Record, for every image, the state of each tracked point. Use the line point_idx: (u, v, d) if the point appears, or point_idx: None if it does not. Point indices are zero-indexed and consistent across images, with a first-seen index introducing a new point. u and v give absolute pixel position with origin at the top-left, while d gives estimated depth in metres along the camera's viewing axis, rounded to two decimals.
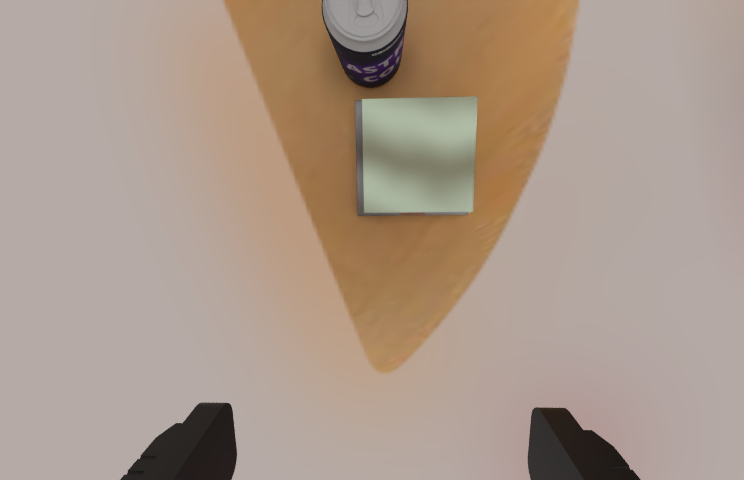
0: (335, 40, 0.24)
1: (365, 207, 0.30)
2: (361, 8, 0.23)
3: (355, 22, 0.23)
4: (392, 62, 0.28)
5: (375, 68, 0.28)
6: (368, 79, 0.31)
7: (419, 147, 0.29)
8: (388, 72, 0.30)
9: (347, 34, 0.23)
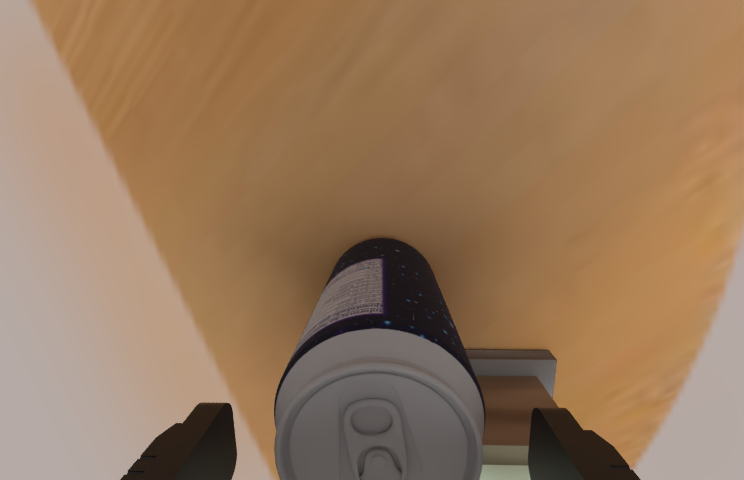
0: None
1: None
2: (370, 467, 0.09)
3: None
4: None
5: None
6: None
7: None
8: None
9: None
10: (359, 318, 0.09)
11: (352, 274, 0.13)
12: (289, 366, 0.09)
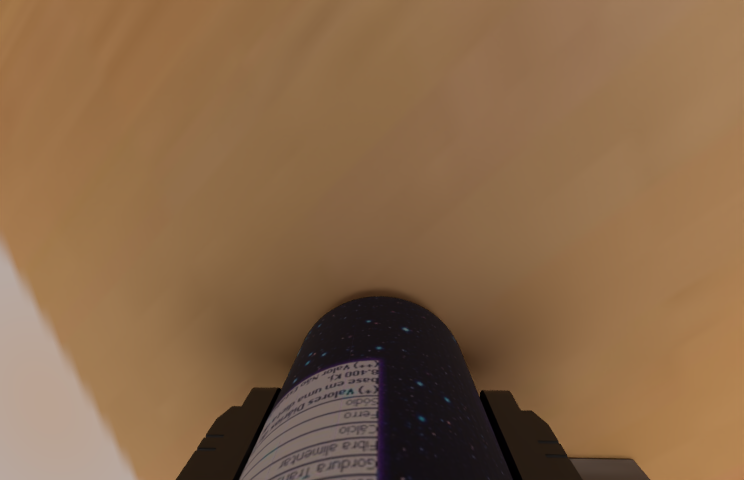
0: None
1: None
2: None
3: None
4: None
5: None
6: None
7: None
8: None
9: None
10: None
11: (316, 411, 0.06)
12: None
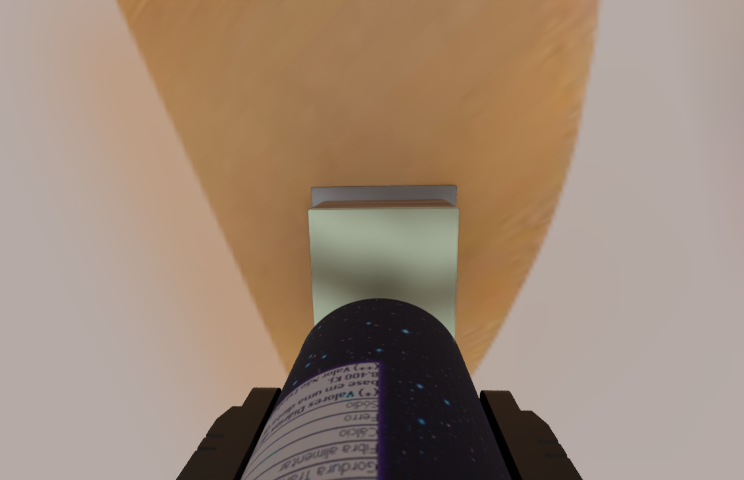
0: None
1: None
2: None
3: None
4: None
5: None
6: None
7: (384, 270, 0.22)
8: None
9: None
10: None
11: (316, 414, 0.06)
12: None
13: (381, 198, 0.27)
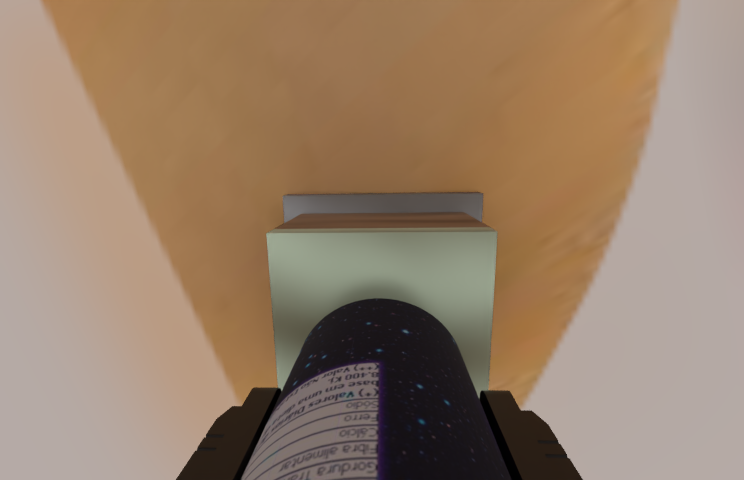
0: None
1: None
2: None
3: None
4: None
5: None
6: None
7: None
8: None
9: None
10: None
11: (316, 414, 0.06)
12: None
13: (379, 210, 0.20)
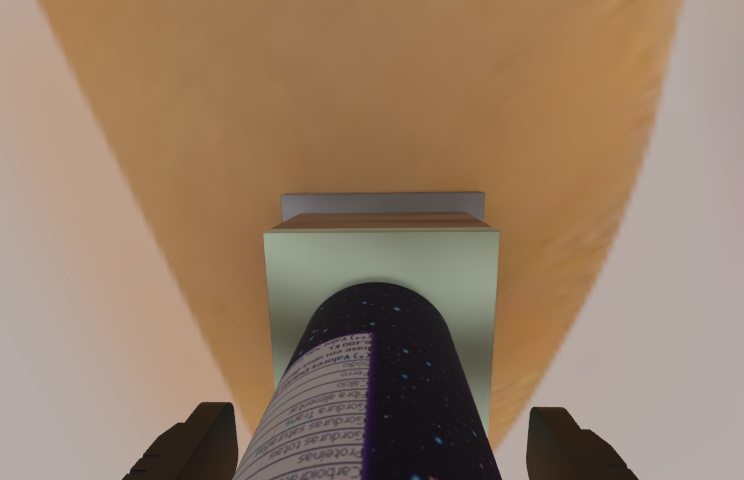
0: None
1: None
2: None
3: None
4: None
5: None
6: None
7: None
8: None
9: None
10: None
11: (318, 373, 0.08)
12: None
13: (378, 210, 0.19)
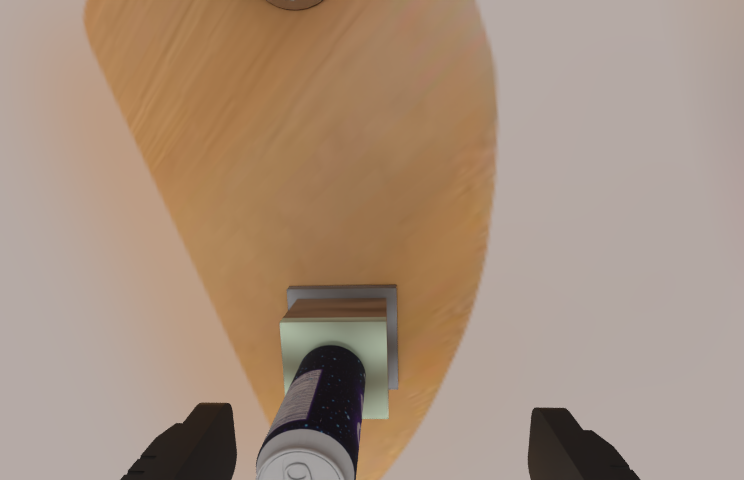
0: None
1: None
2: None
3: None
4: None
5: None
6: None
7: None
8: None
9: None
10: (294, 422, 0.20)
11: (302, 383, 0.24)
12: (262, 446, 0.20)
13: (340, 297, 0.36)
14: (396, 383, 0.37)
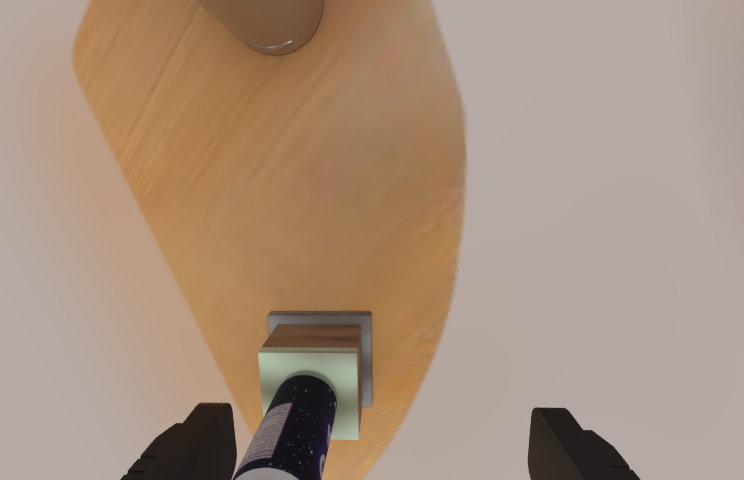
0: None
1: None
2: None
3: None
4: None
5: None
6: None
7: None
8: None
9: None
10: (260, 460, 0.23)
11: (273, 417, 0.27)
12: None
13: (317, 323, 0.38)
14: (370, 402, 0.40)
